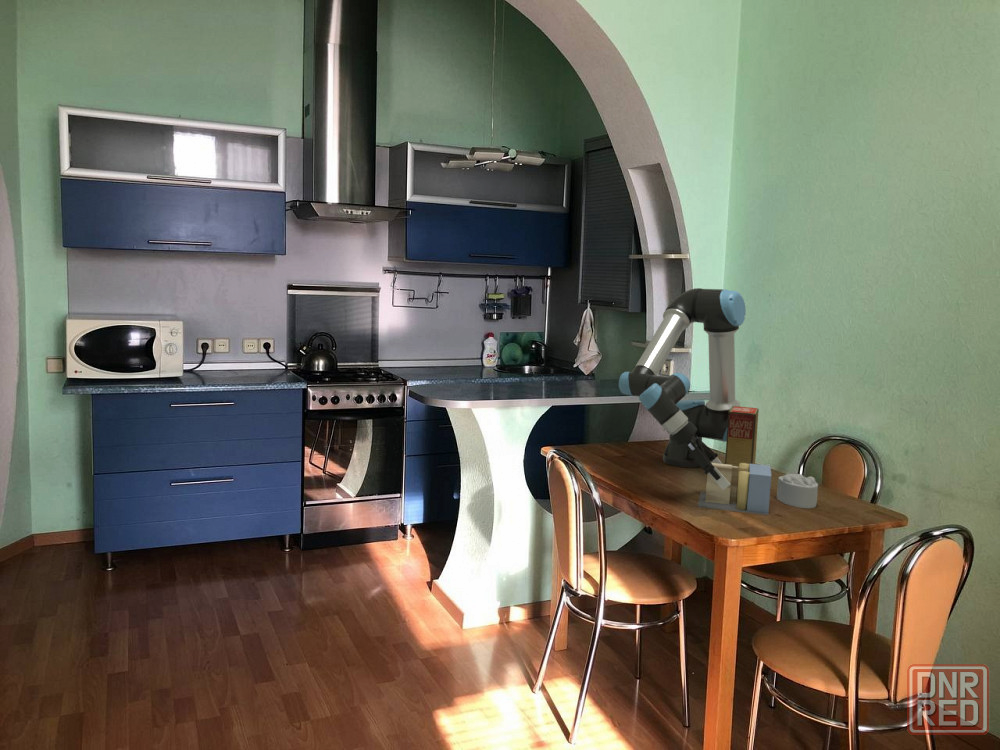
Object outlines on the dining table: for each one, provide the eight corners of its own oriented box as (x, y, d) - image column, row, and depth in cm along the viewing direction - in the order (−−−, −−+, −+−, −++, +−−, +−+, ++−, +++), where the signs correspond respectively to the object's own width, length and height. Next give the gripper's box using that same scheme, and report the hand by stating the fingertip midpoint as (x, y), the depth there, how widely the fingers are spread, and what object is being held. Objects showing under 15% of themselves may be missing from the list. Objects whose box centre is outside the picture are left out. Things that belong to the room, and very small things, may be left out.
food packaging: (726, 477, 285) (731, 405, 282) (754, 480, 282) (760, 408, 279) (721, 486, 273) (727, 411, 270) (751, 490, 270) (758, 414, 267)
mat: (700, 493, 263) (700, 491, 263) (766, 500, 258) (766, 498, 257) (697, 508, 246) (697, 506, 246) (768, 516, 240) (768, 514, 240)
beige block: (705, 497, 256) (708, 462, 255) (744, 501, 253) (747, 466, 252) (705, 501, 251) (707, 466, 250) (744, 506, 248) (747, 470, 247)
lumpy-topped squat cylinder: (804, 498, 262) (806, 471, 261) (824, 510, 250) (826, 482, 248) (772, 498, 261) (774, 471, 260) (790, 510, 248) (793, 482, 247)
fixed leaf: (736, 497, 258) (739, 462, 257) (767, 500, 256) (770, 465, 254) (736, 509, 245) (739, 472, 243) (768, 513, 242) (771, 476, 241)
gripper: (673, 428, 266) (718, 479, 264) (666, 443, 243) (716, 499, 241) (691, 413, 264) (737, 464, 262) (686, 427, 241) (736, 483, 238)
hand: (727, 481), depth 251 cm, fingers open, 13 cm apart
